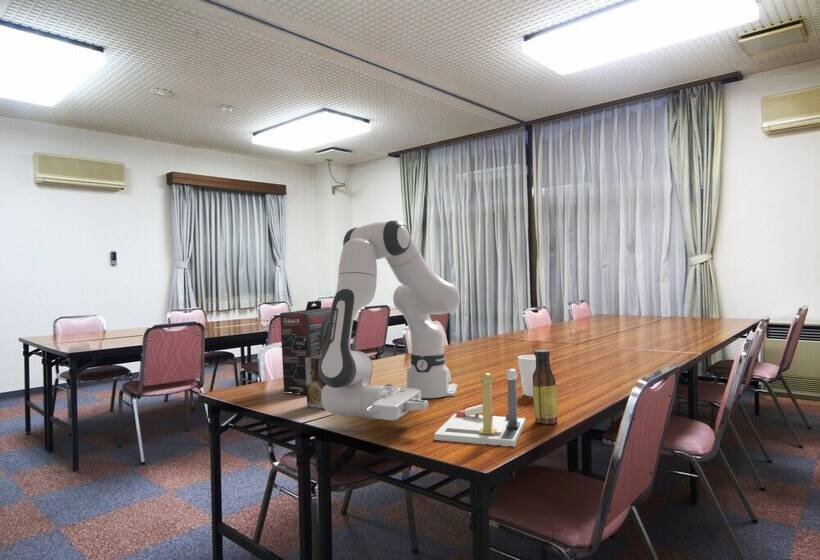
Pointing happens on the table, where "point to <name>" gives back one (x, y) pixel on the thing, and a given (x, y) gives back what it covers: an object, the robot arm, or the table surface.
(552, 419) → the sauce bottle
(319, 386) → the coffee box
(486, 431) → the brass lever
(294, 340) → the headset box
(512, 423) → the graphite lever
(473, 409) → the block
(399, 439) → the table surface
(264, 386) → the table surface
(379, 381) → the table surface
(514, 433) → the panel
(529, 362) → the foam cup
